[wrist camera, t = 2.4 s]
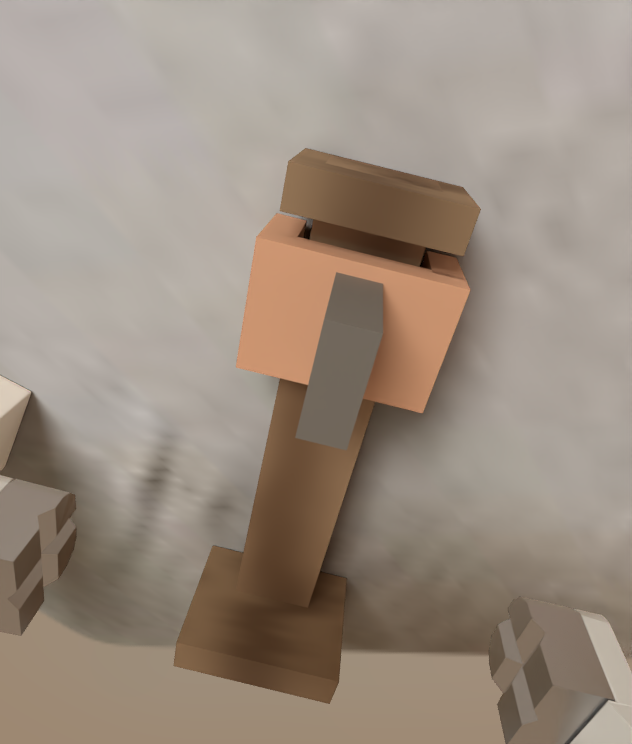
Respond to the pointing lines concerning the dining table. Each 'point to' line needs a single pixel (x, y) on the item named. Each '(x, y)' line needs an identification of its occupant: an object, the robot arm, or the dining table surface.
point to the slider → (346, 326)
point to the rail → (310, 454)
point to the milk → (10, 415)
